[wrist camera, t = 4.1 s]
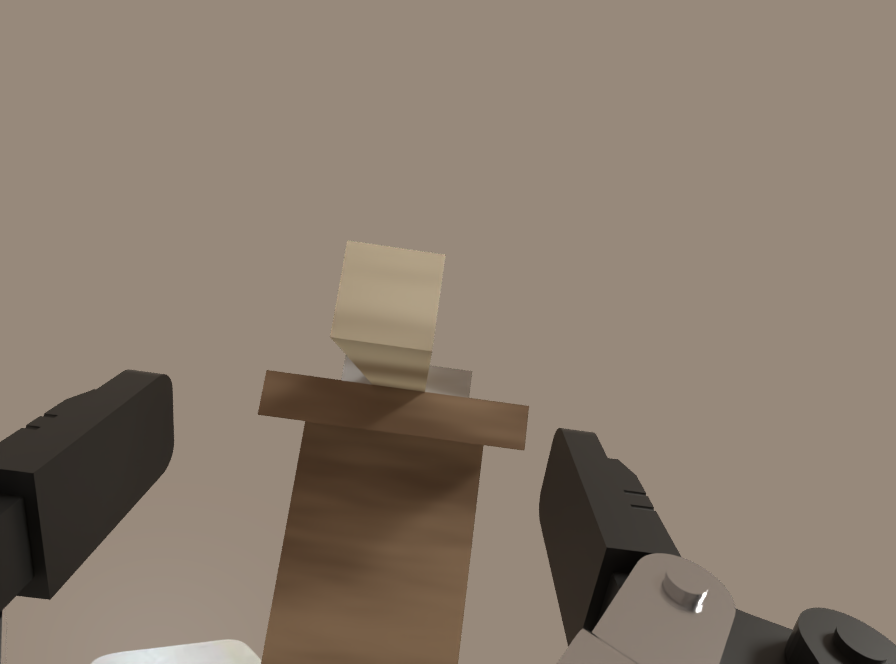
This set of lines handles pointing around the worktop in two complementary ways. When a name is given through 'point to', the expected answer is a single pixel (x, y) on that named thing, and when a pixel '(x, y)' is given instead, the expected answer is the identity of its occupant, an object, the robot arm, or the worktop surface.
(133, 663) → the worktop surface
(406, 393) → the stand
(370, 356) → the beige block
